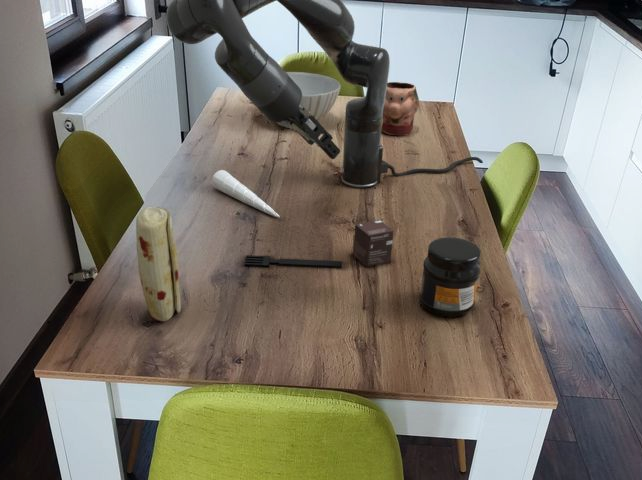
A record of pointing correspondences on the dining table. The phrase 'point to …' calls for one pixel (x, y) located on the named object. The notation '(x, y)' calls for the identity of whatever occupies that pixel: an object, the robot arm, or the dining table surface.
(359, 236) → the box
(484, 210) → the dining table surface
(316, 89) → the decorative bowl
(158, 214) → the food model
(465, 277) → the supplement container
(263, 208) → the unicorn horn
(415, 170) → the robot arm
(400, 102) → the decorative planter
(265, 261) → the fork
